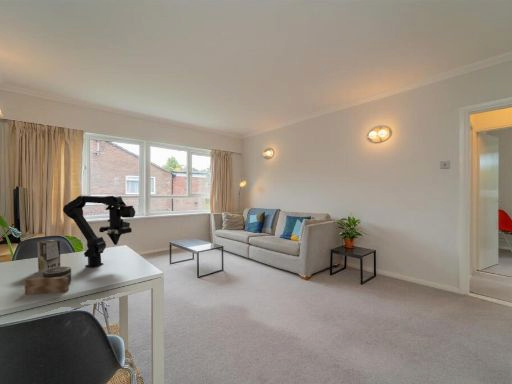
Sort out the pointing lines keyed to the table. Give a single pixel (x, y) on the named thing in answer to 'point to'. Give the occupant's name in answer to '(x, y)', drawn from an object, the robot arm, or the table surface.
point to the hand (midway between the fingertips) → (115, 244)
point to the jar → (58, 272)
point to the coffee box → (48, 255)
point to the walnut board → (46, 285)
